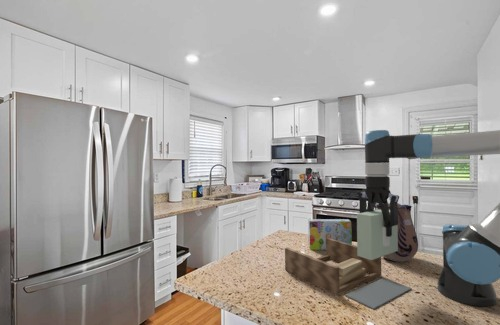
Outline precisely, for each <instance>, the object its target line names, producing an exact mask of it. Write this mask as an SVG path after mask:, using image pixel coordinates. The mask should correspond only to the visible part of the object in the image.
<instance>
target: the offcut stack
mask: <svg viewBox="0 0 500 325" xmlns="http://www.w3.org/2000/svg"><path fill="white" fill-rule="evenodd" d="M334 265H335V266H337V267H339V287H341V286H343V285H345V284H348V283H350V282H353V281H355V280H358V279H360V278H363V277H365V276H367V275H366V274H367V272H365V268H362V261H361V260H358V259H354V258H351V259H349V260H346V261H344V262H341V263H340V262H338V263H337V264H334Z"/></svg>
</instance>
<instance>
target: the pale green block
mask: <svg viewBox="0 0 500 325" xmlns="http://www.w3.org/2000/svg"><path fill="white" fill-rule="evenodd" d="M389 213H390V210H389ZM383 226H385V223H384V219H383V214H382V211H381V210H379V209H377V210H376V209H374V211H371V212H364V213H356V242H357V243H356V246H357V256H360V257H363V258H366V259H369V260H373V259H376V258H379V257H381V258H382V257H384V256H385V255H388V254H390V253H393V252H396V251H398V225H395V226H392V236H390V245H389V246H386V247H384V246H383Z"/></svg>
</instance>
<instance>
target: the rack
mask: <svg viewBox="0 0 500 325" xmlns="http://www.w3.org/2000/svg"><path fill="white" fill-rule="evenodd" d="M351 258H354V259H358V260H361V261H362V268H365V273H366V274H368V275H366V276H365V277H363V278H360V279H358V280H355V281H353V282H350V283H348V284H345V285H343V286H341V287H339V267H337V266H335V265H336V264H332V263H329V262H326V261H328V260H332V261H334V262H337V263H341V262H344V261H346V260H349V259H351ZM284 264H285V265H284V266H285V268H284V270H285V271H287V272H289V273H291V274H293V275H294V276H297V277H299V278H301V279H303V280H305V281H307V282H308V283H311V284H313V285H315V286H317V287H319V288H321V289H322V290H323V289H324V291H326V292H329V293H331V294H333V295H335V296H338V295H341V294H343V293H345V292H348V291H349V290H352V289H354V288H356V287H359V286H362V285H364V284H366V283H369V282H370V281H373V280H375V279H377V278H380V277H382V257H379V258H376V259H373V260H369V259H366V258H363V257H360V256H357V245H354V244H352V245H351V244H348V243H344V242H341V241H337V240H334V239H330V238H326V250H325V255H323V256H320V257H319V256H318V257H314V256H310V255H308V254H306V253H303V252H301V251H298V250H295V249H292V248H290V247H285V248H284Z"/></svg>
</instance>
